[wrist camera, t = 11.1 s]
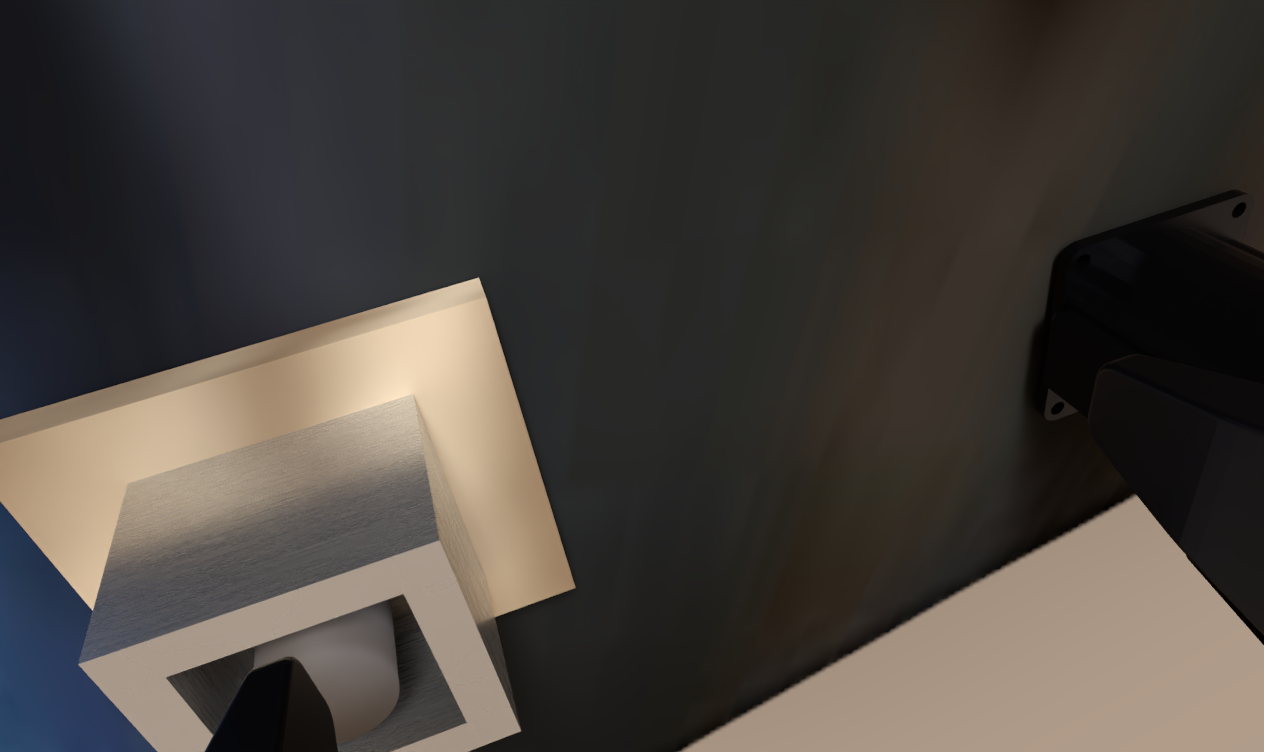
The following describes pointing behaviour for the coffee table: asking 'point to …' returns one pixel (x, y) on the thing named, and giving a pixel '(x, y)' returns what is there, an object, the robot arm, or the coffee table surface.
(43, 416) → the post stand
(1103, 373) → the robot arm
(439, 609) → the white square hollow block
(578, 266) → the coffee table surface
